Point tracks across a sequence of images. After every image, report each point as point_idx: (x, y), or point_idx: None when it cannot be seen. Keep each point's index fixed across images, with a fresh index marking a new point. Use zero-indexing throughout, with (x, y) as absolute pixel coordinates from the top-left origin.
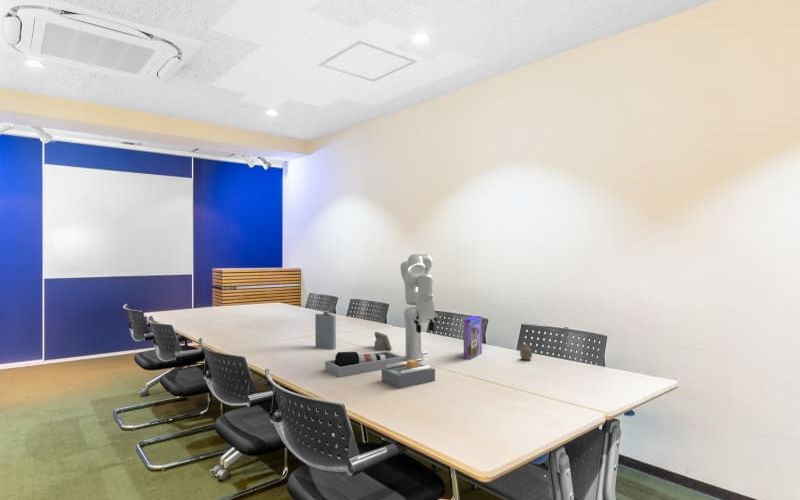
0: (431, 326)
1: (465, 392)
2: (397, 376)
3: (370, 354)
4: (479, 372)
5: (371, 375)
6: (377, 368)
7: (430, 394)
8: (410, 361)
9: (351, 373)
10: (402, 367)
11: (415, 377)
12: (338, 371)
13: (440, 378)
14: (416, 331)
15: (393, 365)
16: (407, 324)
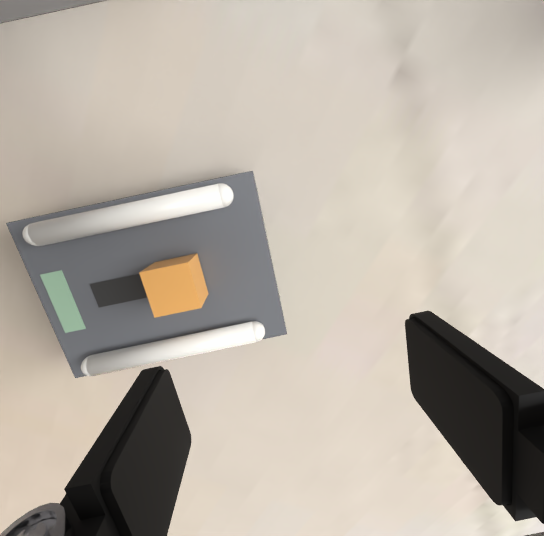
0: (451, 420)
1: (313, 453)
2: (72, 361)
3: None
4: (519, 275)
5: (13, 105)
6: (56, 2)
7: (195, 434)
8: (154, 301)
9: None
10: (134, 244)
11: None
12: None
13: (319, 289)
14: (143, 370)
15: (69, 239)
16: None
